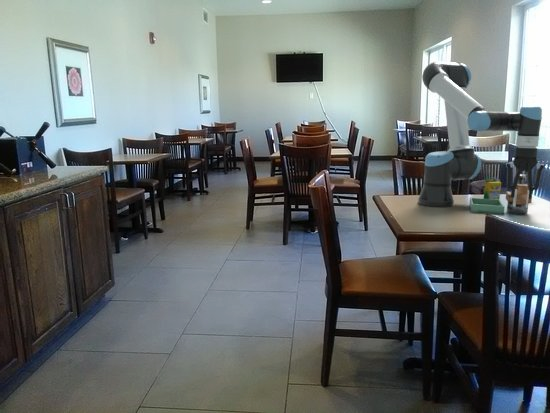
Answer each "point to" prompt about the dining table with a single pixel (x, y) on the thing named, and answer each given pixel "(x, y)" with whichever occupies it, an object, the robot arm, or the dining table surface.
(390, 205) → the dining table surface
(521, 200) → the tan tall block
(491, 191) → the crayon box
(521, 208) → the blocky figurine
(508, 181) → the robot arm
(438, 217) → the dining table surface
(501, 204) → the tray
